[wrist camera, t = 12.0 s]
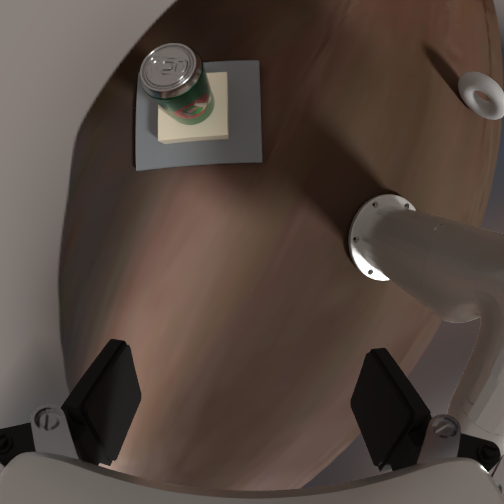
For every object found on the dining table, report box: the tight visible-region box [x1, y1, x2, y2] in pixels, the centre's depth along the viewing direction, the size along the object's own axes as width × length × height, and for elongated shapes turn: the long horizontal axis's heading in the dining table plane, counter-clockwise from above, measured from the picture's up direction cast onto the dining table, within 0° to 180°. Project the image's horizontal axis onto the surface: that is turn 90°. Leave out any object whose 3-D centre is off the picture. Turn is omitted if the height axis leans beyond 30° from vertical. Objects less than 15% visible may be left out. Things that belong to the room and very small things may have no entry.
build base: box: [136, 60, 262, 171], centre depth 29 cm, size 16×14×4 cm
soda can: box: [140, 43, 215, 125], centre depth 21 cm, size 5×5×12 cm
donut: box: [458, 71, 504, 120], centre depth 26 cm, size 10×4×10 cm, turn 58°
